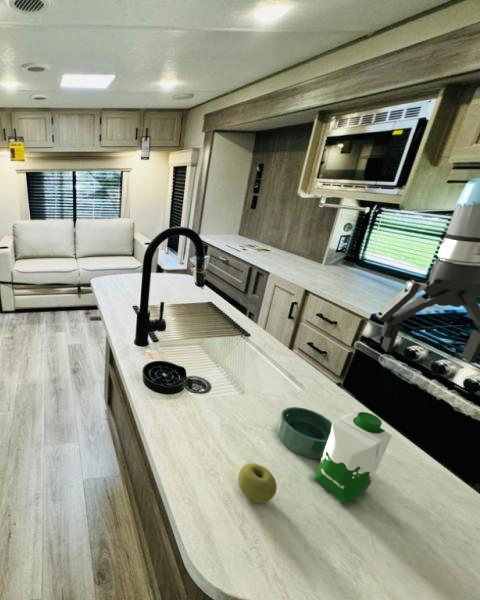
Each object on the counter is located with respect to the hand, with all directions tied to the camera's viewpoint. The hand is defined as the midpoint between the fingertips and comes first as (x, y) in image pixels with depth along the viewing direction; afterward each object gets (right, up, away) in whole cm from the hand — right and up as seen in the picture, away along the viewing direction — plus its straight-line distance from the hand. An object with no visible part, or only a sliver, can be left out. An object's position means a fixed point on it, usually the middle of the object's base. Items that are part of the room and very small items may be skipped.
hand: (425, 354), depth 69 cm
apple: (-36, -34, +5) cm, 50 cm away
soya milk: (-14, -33, +6) cm, 37 cm away
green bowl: (-14, -28, +19) cm, 36 cm away
